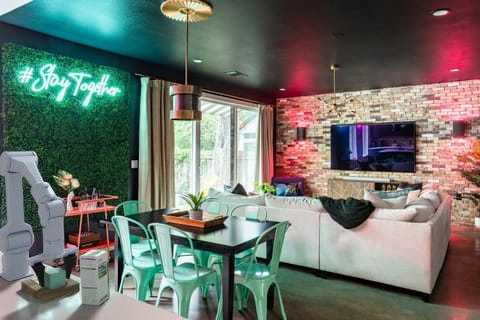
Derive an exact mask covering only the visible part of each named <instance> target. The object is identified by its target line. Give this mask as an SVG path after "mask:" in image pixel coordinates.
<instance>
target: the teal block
mask: <svg viewBox="0 0 480 320" xmlns="http://www.w3.org/2000/svg"><path fill="white" fill-rule="evenodd" d="M44 279H45V286H44V287H45V288H47V289H49V290H52V289H55V288H58V287H61V286H65V285H66V274H65V270H64V269H63V268H61V267H55V268H51V269H48V270H47V269H46V270H45V274H44Z"/></svg>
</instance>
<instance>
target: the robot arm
mask: <svg viewBox="0 0 480 320" xmlns="http://www.w3.org/2000/svg"><path fill="white" fill-rule="evenodd" d="M38 165H39V158H38V155H37V153H36V152H35V151H34V150H30V151H3V152H2V153H1V154H0V176H2V177H4V180H5V181H4V182H5V184H4V185H5V200H6V216H7V217H6V219H7V220H6V221H7V223H6V224H5V225H4V226H3V227H1V228H0V253H2V256H1V273H0V277H2V278H3V279H4V280H6V281H8V282H12V281H15V280H19V279H23V278H27V277H30V276H33V275H34V274H35V277H37V279H38V282H39V286H41V287H44V286H45V279H44V274H45V271H46V265H44V263H45V262H49V261H53V260H58V259H60V258H62V260H63V267H64V269H63V270H65V274H66V279H70V278H71V275H72V271H73V268H74V266H75V264H76V261H77V259H78V255H79V254H80V252H79V247H77V246H75V247H68V248H65V230H64V217H66V216H67V213H68V205H67V203H66V200H65V199H64V198H61V197H60V196H57V195H56V193H55V191H54V189H52V188H53V187H51V185H50V183H49V182H46V181H44V180H43V177H42V175H41V173H40V171H39V168H38ZM23 178H25V180H26V181H27V182H28V184H29V185H30V186H31V189H30V194H31V196H32V197H33V200H34V201H35V203H36V205H37V206H38V210H37V214H38V216H39V222H40V225H41V226H42V243H43V244H42V245H43V246H42V248H43V250H42V251H43V253H40V254H38V255H34V256H31V257H30V255H29V250H30V249H31V247H32V246H33V245H34V242H35V235H34V232H33V227H32V226H31V225H30V224H28V223H26V222H25V211H24V210H25V209H24V208H25V207H24V194H23V193H24V190H23ZM30 267H31V269H32V271H33V272H32V271H31V270H30Z"/></svg>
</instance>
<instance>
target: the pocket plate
mask: <svg viewBox="0 0 480 320" xmlns="http://www.w3.org/2000/svg"><path fill="white" fill-rule="evenodd" d="M20 284H21V285H20V287H21V288H20V289H21V290H22V291H24V292H25V293H26V294H28V295H30V296H31V297H32V298H34V299H35V300H37V301H38V302H40V303H42V304H44V303H47V302H50V301H55V300H57V299H60V298H63V297H65V296H68V295H71V294H75V293H78V292H81V282H78V281H77V280H74V279H73V278H71V277H70V279H66V285H65V286H61V287H58V288H55V289H52V290H49V289H47V288H45V287H41V286H39V282H38V279H37V276H35V277H32V278H28V279H24V280H21V281H20Z"/></svg>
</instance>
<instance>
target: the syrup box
mask: <svg viewBox="0 0 480 320" xmlns="http://www.w3.org/2000/svg"><path fill="white" fill-rule="evenodd" d="M109 267H110V266H109V251H108V250H106V249H105V250H104V249H91V250H89V251H87V252H86V253H83V254H81V255H79V275H80V295H81V298H80V299H81V304H82V305H88V306H100V305H101V304H103V303H104V302H105V301H107V299H109V298H110V297H111V294H110V293H111V292H110V271H109V269H110V268H109Z"/></svg>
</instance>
